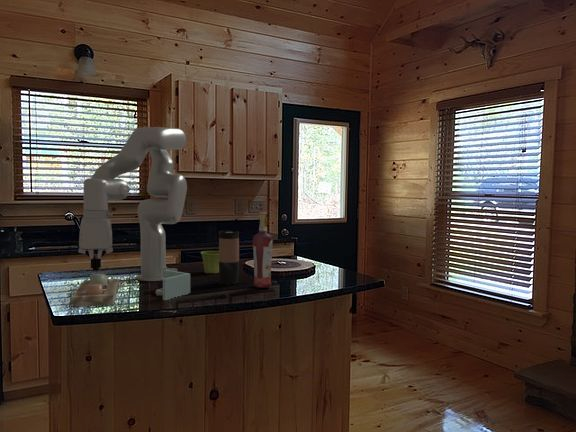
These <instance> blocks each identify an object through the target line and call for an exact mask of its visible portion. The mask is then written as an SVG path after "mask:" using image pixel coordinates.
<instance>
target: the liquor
mask: <svg viewBox="0 0 576 432" xmlns="http://www.w3.org/2000/svg"><path fill="white" fill-rule="evenodd" d="M258 213H259V227H258V233H255V235H253V236H252V250H253V274H254V276H253V277H254V278H253V280H254V282H253V284H252V285H253V286H254V287H255V288H256V289H258V288H267V289H269V288H270V287H271V286H272V282H271V279H272V278H271V277H272V273H271V272H272V257H273V242H274V241H273V239H274V237H273V235H271V234H269V233H268V229H267V215H268V214H267V211H259V212H258Z"/></svg>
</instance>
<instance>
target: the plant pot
mask: <svg viewBox="0 0 576 432" xmlns="http://www.w3.org/2000/svg"><path fill="white" fill-rule="evenodd" d="M200 254H201V257H202V263H203V269H204V270H203V272H204V273H205V274H213V273H214V274H219V250H206V251H205V250H203V251H200Z"/></svg>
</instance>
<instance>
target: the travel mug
mask: <svg viewBox="0 0 576 432" xmlns="http://www.w3.org/2000/svg"><path fill="white" fill-rule="evenodd" d="M239 236H240V232H239V230H228V229H226V230H219V232H218V251H219V272H218V275H219V281H218V282H219V284H220V285H222V284H225V285H224V286H230V285H229V284H235V285H237V284H236V283H238V284H239V276H240V275H239V270H240V269H239V268H240V266H239V265H240V237H239Z"/></svg>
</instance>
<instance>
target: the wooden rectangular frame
mask: <svg viewBox="0 0 576 432" xmlns="http://www.w3.org/2000/svg"><path fill="white" fill-rule="evenodd" d="M87 285H90V279H86V280H85V279H84V280H83V281H82V282H81V284H80V285H79V286H78V288H77V289H76V291H75V292H74V294H73V295H72V296H71V306H72V308H75V307H76V308H79V307H94V306H95V307H96V306H97V305H98V306H113V305H114V304H115V301H116V298H117V296H118V292H119V289H120V278H110V279H109V278H107V284H105V289H103V294H101V295H87V291H86V286H87Z"/></svg>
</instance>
